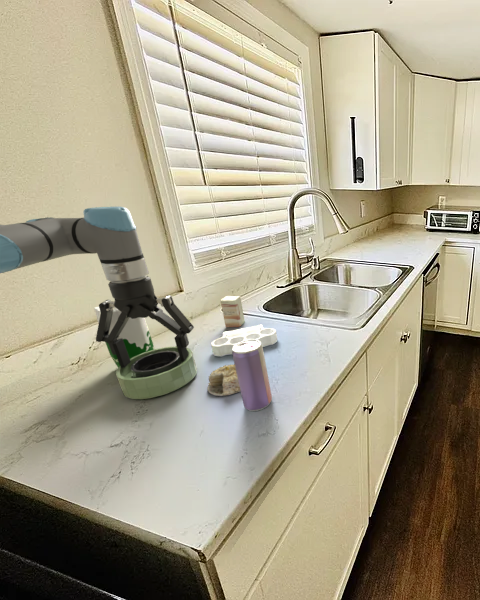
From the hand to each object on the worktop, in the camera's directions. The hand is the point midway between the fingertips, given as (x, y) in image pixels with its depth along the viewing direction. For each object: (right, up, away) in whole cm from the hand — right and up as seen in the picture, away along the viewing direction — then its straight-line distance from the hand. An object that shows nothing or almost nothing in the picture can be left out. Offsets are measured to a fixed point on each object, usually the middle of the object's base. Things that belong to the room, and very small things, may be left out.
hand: (155, 361), depth 80 cm
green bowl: (0, -6, +2) cm, 6 cm away
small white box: (+3, +6, +34) cm, 35 cm away
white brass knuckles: (+13, +1, +20) cm, 24 cm away
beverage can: (+28, -9, -6) cm, 30 cm away
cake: (+18, -6, +1) cm, 19 cm away
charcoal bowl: (0, -5, +2) cm, 5 cm away
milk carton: (-12, -3, +9) cm, 16 cm away
